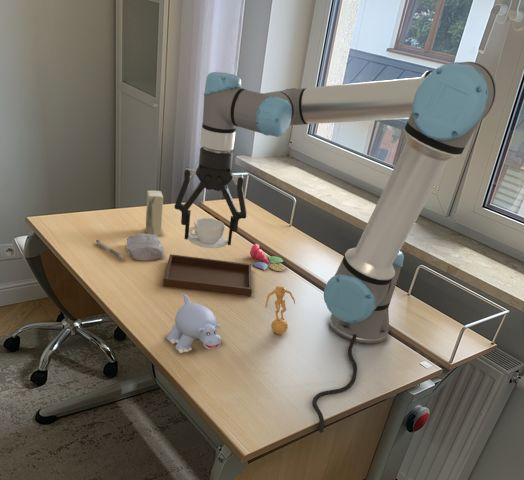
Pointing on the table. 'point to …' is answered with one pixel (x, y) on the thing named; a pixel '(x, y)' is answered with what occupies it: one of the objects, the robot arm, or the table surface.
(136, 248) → the stone block
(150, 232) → the box
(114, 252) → the pen
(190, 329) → the hippopotamus toy
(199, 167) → the robot arm
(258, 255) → the toy pieces
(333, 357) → the table surface
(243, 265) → the tray
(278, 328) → the figurine
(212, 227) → the teacup
